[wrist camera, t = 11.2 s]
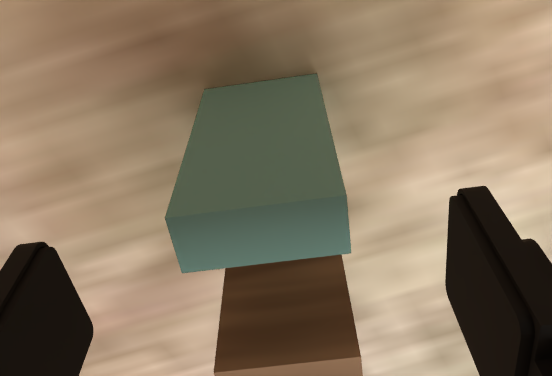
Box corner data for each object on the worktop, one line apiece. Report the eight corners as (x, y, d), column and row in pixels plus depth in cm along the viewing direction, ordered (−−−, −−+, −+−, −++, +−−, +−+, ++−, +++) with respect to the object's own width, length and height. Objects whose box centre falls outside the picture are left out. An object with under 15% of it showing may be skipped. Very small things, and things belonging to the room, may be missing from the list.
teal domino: (204, 89, 23) (165, 218, 14) (317, 73, 22) (346, 195, 14) (213, 130, 24) (182, 273, 15) (321, 115, 23) (351, 253, 15)
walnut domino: (232, 209, 26) (213, 372, 17) (330, 196, 26) (360, 356, 17) (239, 240, 27) (225, 409, 18) (333, 228, 27) (364, 394, 18)
